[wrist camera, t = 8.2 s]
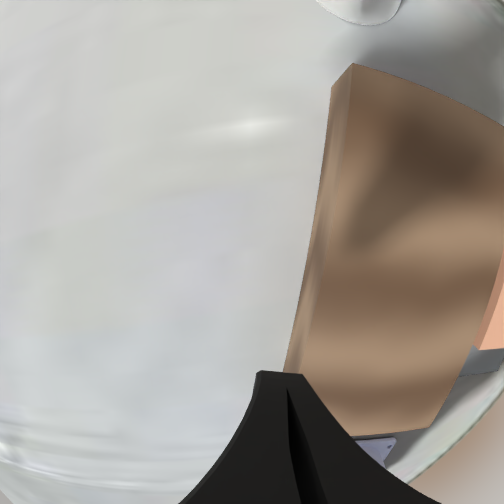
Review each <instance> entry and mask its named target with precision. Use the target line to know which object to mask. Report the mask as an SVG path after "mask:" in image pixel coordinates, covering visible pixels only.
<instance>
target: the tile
mask: <svg viewBox="0 0 504 504" xmlns="http://www.w3.org/2000/svg"><path fill="white" fill-rule="evenodd" d="M473 345H474V346H475V347H476V348H477V349H478V350H487V349H499V348H504V249H503V253H502V258H501V262H500V266H499V269H498V273H497V277H496V280H495V284H494V287H493V290H492V293H491V297H490V300H489V303H488V306H487V309H486V311H485V314H484V317H483V320H482V322H481V325H480V328H479V330H478V333H477V335H476V338H475V340H474V342H473Z"/></svg>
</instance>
